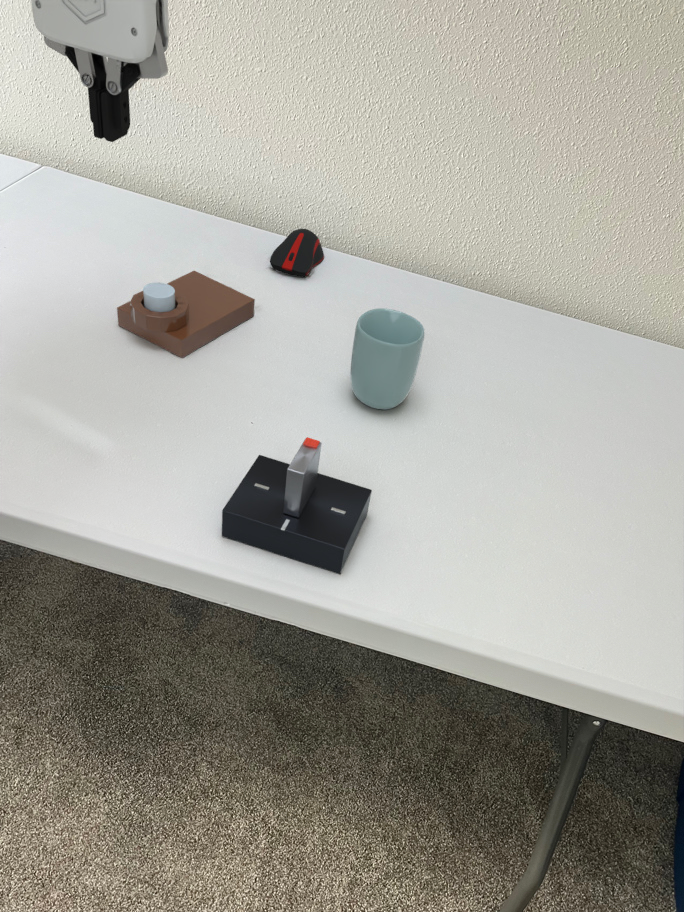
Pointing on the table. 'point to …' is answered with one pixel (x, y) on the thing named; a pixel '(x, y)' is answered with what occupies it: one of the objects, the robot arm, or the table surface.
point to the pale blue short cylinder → (159, 297)
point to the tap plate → (305, 538)
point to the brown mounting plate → (188, 314)
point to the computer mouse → (297, 253)
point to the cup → (385, 357)
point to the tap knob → (302, 477)
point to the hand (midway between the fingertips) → (111, 135)
